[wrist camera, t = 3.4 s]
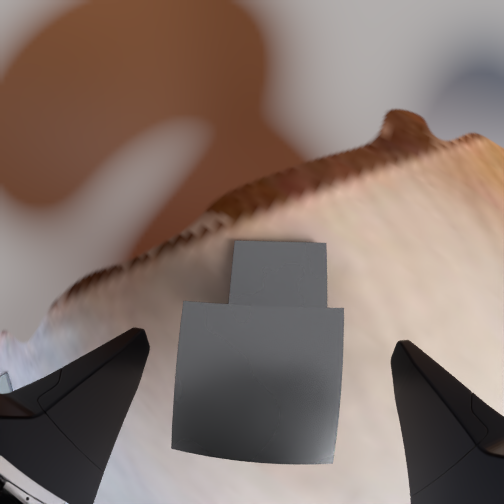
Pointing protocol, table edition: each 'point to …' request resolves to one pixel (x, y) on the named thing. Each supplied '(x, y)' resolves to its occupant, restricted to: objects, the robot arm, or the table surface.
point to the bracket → (262, 361)
